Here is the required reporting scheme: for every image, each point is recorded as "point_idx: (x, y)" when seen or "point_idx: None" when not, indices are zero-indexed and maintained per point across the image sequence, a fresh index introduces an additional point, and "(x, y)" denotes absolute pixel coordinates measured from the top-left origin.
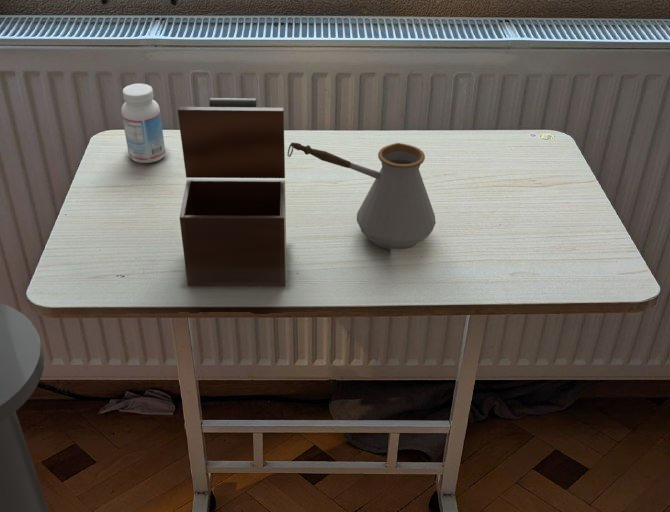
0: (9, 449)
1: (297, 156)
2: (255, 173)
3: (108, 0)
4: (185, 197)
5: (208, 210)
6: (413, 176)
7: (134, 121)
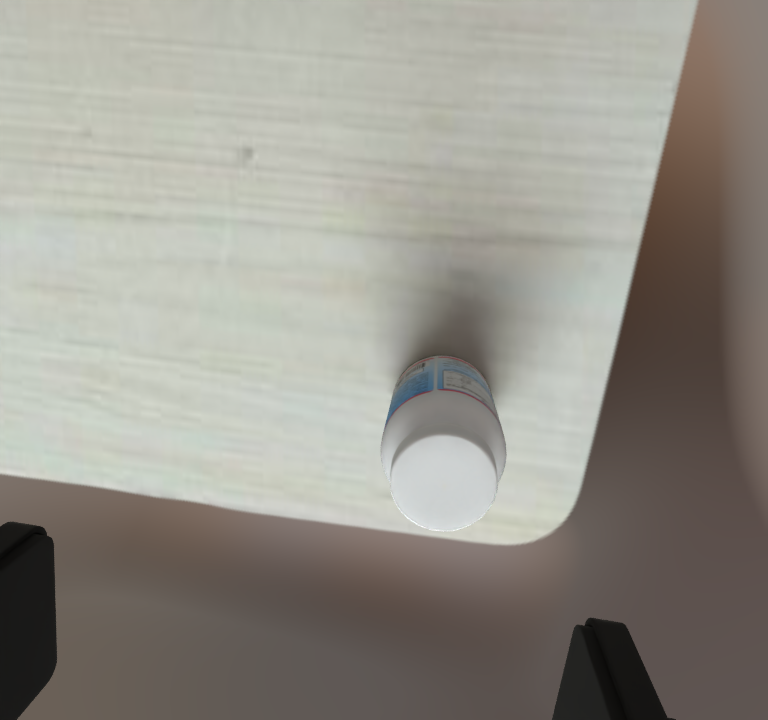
0: None
1: (56, 352)
2: None
3: (564, 677)
4: None
5: None
6: None
7: (464, 392)
